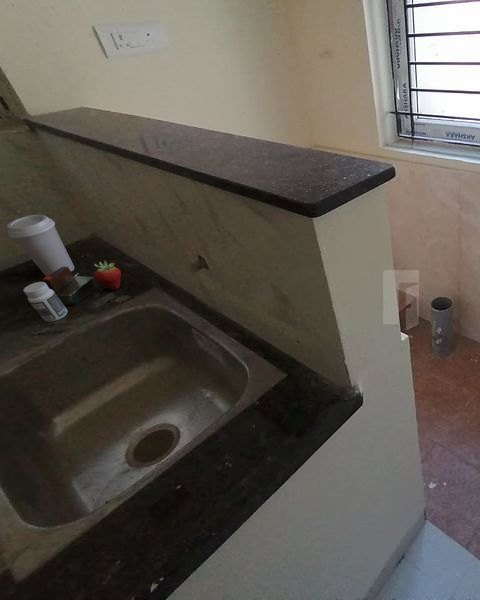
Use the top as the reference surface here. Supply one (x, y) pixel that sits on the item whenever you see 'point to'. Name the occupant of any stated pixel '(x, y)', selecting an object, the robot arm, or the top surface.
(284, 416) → the top surface
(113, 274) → the fruit
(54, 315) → the pill bottle
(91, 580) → the top surface
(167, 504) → the top surface
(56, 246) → the coffee cup
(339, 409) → the top surface
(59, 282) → the dark red block
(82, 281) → the dial panel
